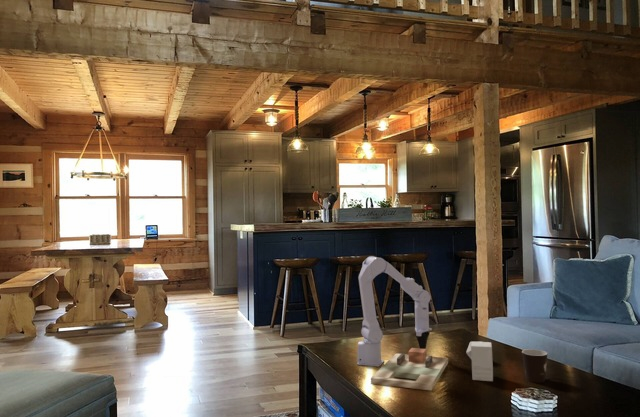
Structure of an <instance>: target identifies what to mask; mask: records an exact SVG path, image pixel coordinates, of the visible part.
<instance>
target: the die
mask: <svg viewBox="0 0 640 417" xmlns="http://www.w3.org/2000/svg"><path fill="white" fill-rule="evenodd" d="M477 342H483V341H477ZM471 344H472V341H470V342H469V344H468V347H467V349H466V353H465V354H466V355H467V356H468V357H469V359H470V360H471V361H472V355H471Z"/></svg>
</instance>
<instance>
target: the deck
mask: <svg viewBox="0 0 640 417" xmlns="http://www.w3.org/2000/svg"><path fill="white" fill-rule="evenodd" d="M426 357H427V359H426V360H425V362H424V363H420V362H410V361H409V354H408V353H394V355H392V356H391V357H390V358H389V359H388V360H387V361H386V362H385V363H384V365H383V366H381V367H380V368H379V369H378V370H377V371H375V373H374V374H373V375H372V376H371V377H370V384H373V385H374V384H375V385H380V386H388V387H389V386H391V387H396V388H397V387H399V388H405V389H406V388H409V389H416V390H424V391H433V389H434V388H435V386H436V384H437V382H438V381H439V379H440V377H441V376H442V374H443V372H444V371H445V369H446V368H447V366H448V364H449V358H448V357H440V356H433V355H426ZM399 378H401V379H399Z"/></svg>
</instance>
